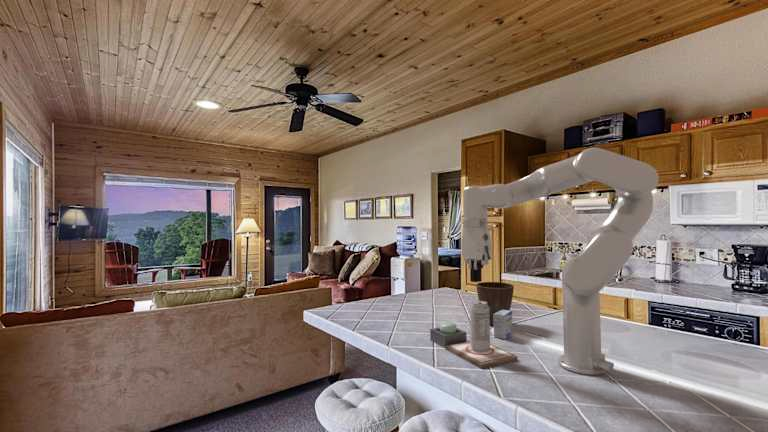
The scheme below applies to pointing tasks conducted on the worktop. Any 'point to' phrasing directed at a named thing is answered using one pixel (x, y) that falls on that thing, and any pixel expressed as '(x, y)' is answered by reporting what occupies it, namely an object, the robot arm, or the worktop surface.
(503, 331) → the medicine box
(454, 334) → the button housing
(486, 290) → the plant pot
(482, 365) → the sketch board
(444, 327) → the button
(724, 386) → the worktop surface
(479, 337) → the energy drink can
